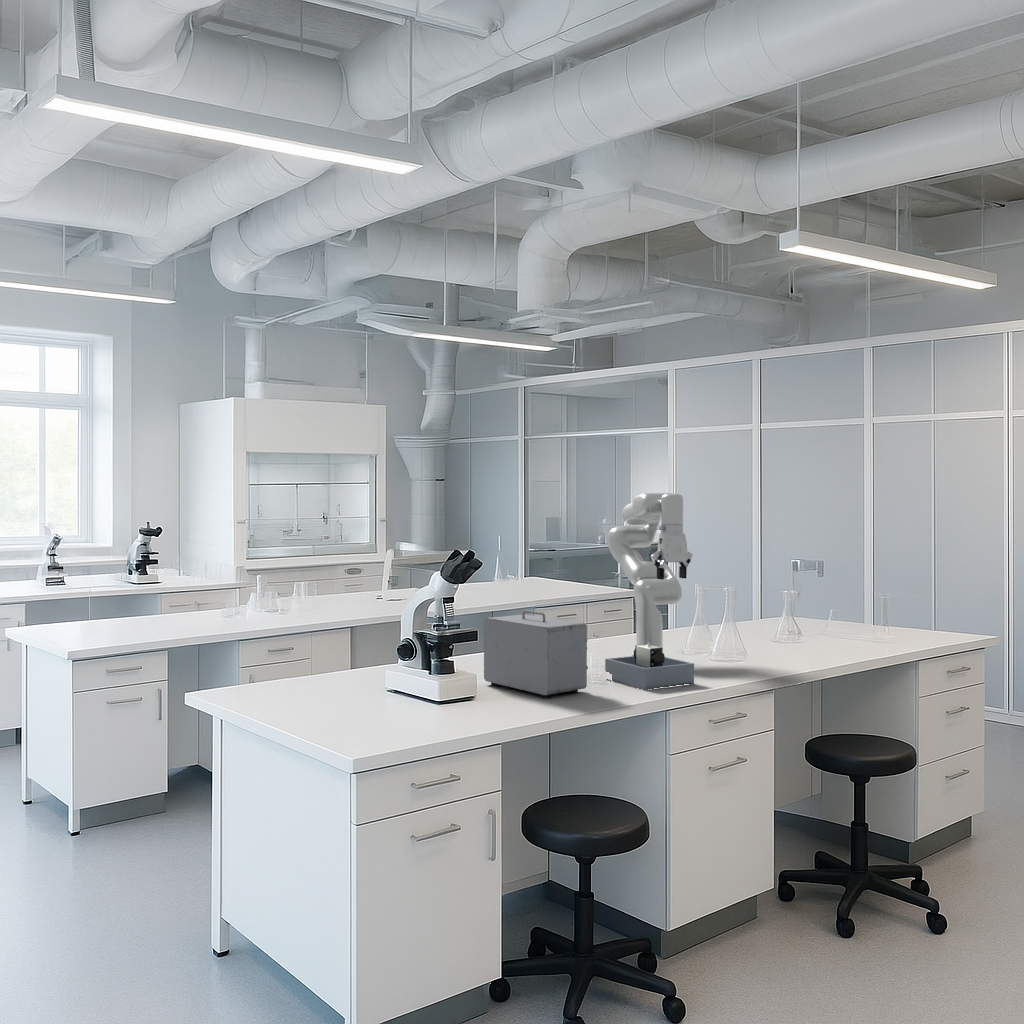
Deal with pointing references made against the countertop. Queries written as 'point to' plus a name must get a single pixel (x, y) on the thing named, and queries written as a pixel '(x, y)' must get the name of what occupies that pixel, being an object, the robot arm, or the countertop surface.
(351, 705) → the countertop surface
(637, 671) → the parts bin
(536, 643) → the vintage electronic device
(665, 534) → the robot arm
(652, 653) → the pneumatic valve
